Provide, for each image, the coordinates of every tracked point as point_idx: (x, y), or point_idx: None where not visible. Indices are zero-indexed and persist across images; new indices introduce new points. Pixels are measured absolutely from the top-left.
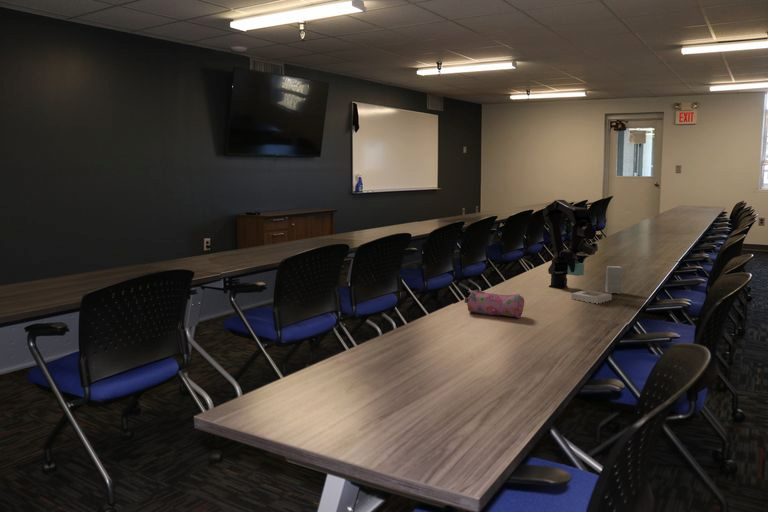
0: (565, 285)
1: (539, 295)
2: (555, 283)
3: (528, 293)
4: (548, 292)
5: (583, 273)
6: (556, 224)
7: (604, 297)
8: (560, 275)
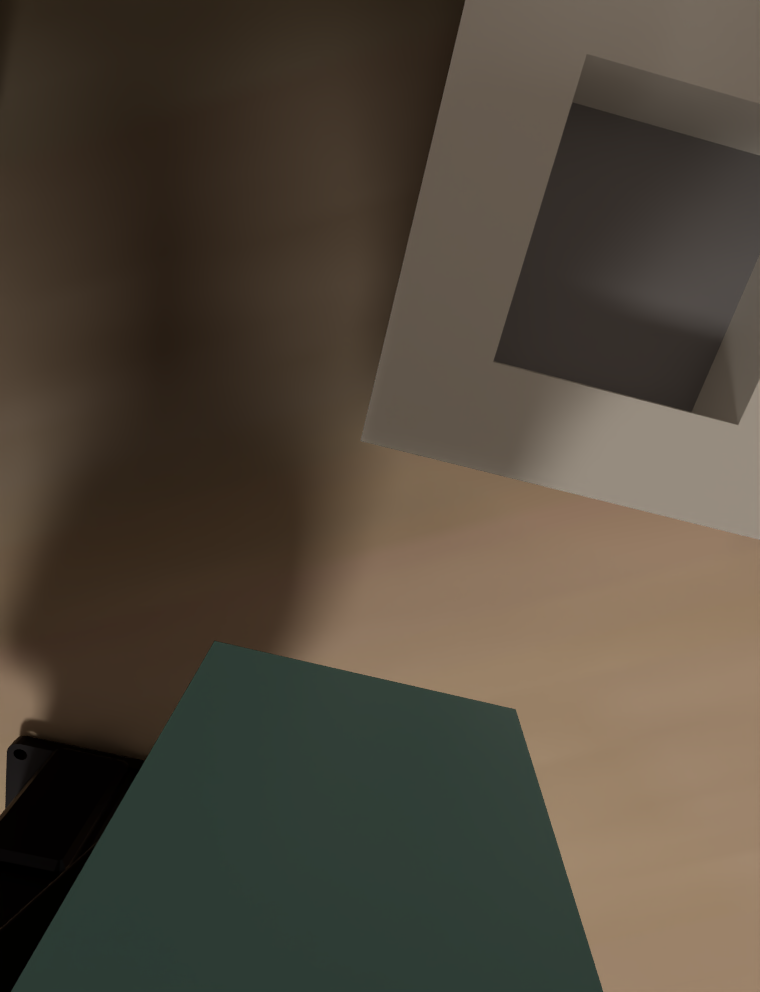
0: (82, 765)
1: (675, 838)
2: None
3: (627, 932)
4: None
5: (218, 664)
6: None
7: None
8: None
